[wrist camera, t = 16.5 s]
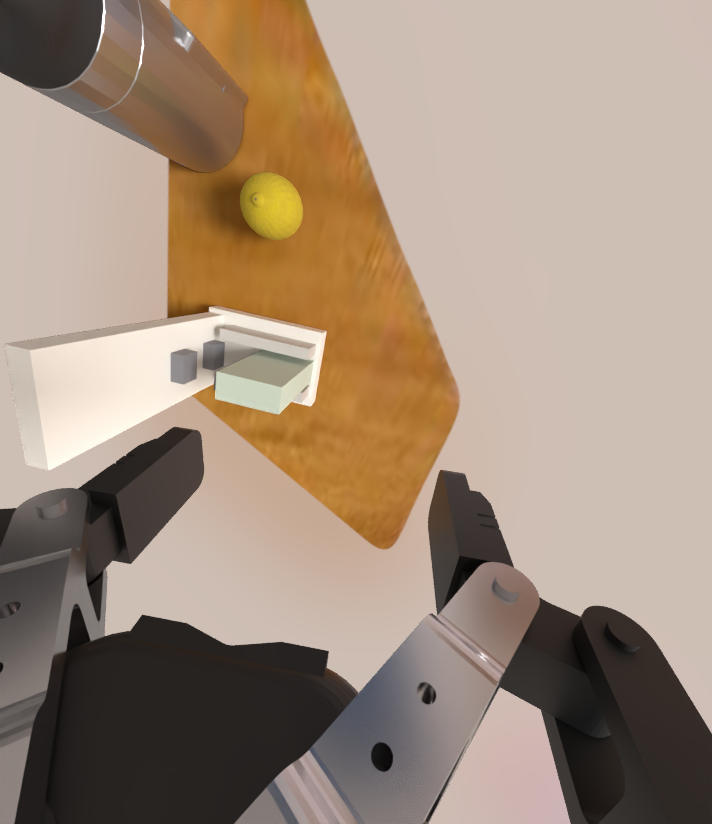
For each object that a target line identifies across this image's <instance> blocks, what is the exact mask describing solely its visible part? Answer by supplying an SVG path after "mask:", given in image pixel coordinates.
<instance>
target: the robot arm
mask: <svg viewBox="0 0 712 824" xmlns="http://www.w3.org/2000/svg"><path fill="white" fill-rule="evenodd" d="M0 72H1V73H3V74H5V75H7V76H9V77H11V78H13V79H15V80H17V81H19V82H21V83H23V84H24V85H26V86H28V87H30V88H32V89H34V90H36V91H38V92H40V93H42V94H44V95H46V96H48V97H50V98H52V99H54V100H55V101H58V102H59V103H61V104H63V105H65V106H67V107H70V108H71V109H73V110H75V111H77V112H79V113H81V114H83V115H85V116H87V117H89V118H91V119H93V120H95V121H97V122H99V123H100V124H102V125H104V126H106V127H108V128H110V129H112V130H114V131H116V132H118V133H120V134H122V135H124V136H126V137H128V138H130V139H132V140H134V141H136V142H138V143H140V144H142V145H144V146H146V147H148V148H149V149H151V150H153V151H155V152H157V153H159V154H161V155H163V156H165V157H167V158H169V159H171V160H173V161H175V162H176V163H178V164H180V165H182V166H185V167H187V168H189V169H192V170H194V171H198V172H203V173H205V172H213V171H216V170H219V169H221V168H222V167H224V166H225V165H227V164H228V163H229V162H230V161H231V159H232V158H233V157H234V155H235V154H236V152H237V150H238V148H239V145H240V142H241V139H242V133H243V109H244V106H245V104H246V102H247V100H248V97H247V95H246V94H245V93H244V92H243V91H242V89H241V88H240V87H239V86H238V85H237V84H236V83H235V81H234V80H233V79H232V78H231V77H230V76H229V75H228V73H227V72H226V71H225V70H224V69H223V68H222V67H221V65H220V64H219V63H218V62H217V61H216V60H215V59H214V57H213V56H212V55H211V54H210V53H209V52H208V51H207V49H206V48H205V47H204V46H203V45H202V44H201V43H200V41H199V40H198V39H197V38H196V37H195V36H194V35H193V33H192V32H191V31H190V30H189V29H188V28H187V27H186V26H185V25H184V24H183V23H182V22H181V21H180V20H179V19H178V18H177V17H176V16H175V15H174V14H173V13H172V12H171V11H170V10H169V9H168V8H167V7H166V6H165V5H164V4H163V3H162V2H161V1H160V0H0ZM203 475H204V463H203V451H202V440H201V434H200V432H199V431H197V430H192V429H186V428H179V427H173V428H172V429H170V430H169V431H167V432H166V433H165V434H163V435H162V436H161V437H159V438H158V439H154V440H151V441H149V442H146V443H144V444H141V445H139V446H137V447H136V448H135V449H133V450H132V451H130V452H129V453H128V454H127V455H126V456H123V457H122V458H120V459H119V460H118V461H116V464H112V465H111V466H109V467H108V468H106V469H105V470H104V471H102V472H101V473H99V474H98V475H97V476H95V477H94V478H92V479H91V480H89V481H88V482H87V483H85V484H84V485H82V486H81V487H80V488H78V489H74V488H62V489H56V490H51V491H48V492H44V493H41V494H39V495H36V496H34V497H32V498H30V499H28V500H27V501H25V502H24V503H23V504H21V505H20V506H19V507H18V508H13V509H0V824H429V822H430V820H431V818H432V816H433V814H434V813H435V810H436V809H437V807H438V805H439V803H440V801H441V799H442V797H443V795H444V793H445V792H446V790H447V788H448V786H449V783H450V782H451V780H452V778H453V776H454V774H455V772H456V770H457V768H458V766H459V764H460V762H461V760H462V758H463V756H464V754H465V752H466V750H467V748H468V747H469V745H470V743H471V741H472V739H473V737H474V735H475V733H476V731H477V729H478V728H479V726H480V724H481V722H482V720H483V718H484V716H485V714H486V712H487V710H488V709H489V707H490V705H491V702H492V701H493V699H494V697H495V695H496V693H497V691H498V689H499V688H500V687H501V688H503V689H504V690H506V691H508V692H510V693H512V694H514V695H515V696H517V697H519V698H521V699H523V700H524V701H526V702H528V703H530V704H532V705H534V706H535V707H537V708H539V709H541V712H542V716H543V719H544V723H545V727H546V730H547V735H548V738H549V742H550V746H551V750H552V754H553V757H554V761H555V765H556V769H557V773H558V776H559V780H560V784H561V788H562V792H563V796H564V799H565V803H566V807H567V811H568V815H569V819H570V822H571V824H712V734H711V732H710V730H709V729H708V727H707V725H706V724H705V722H704V720H703V719H702V717H701V716H700V714H699V712H698V711H697V709H696V707H695V706H694V704H693V702H692V701H691V699H690V697H689V696H688V695H687V693H686V691H685V689H684V688H683V686H682V684H681V683H680V681H679V679H678V678H677V676H676V675H675V673H674V671H673V670H672V668H671V666H670V665H669V663H668V661H667V660H666V658H665V657H664V655H663V653H662V652H661V650H660V649H659V647H658V645H657V644H656V642H655V641H654V640H653V638H652V637H651V636H650V635H649V634H648V633H647V632H646V631H645V630H644V629H643V628H642V627H641V626H640V625H639V624H637V623H636V622H635V621H633V620H632V619H631V618H629V617H627V616H626V615H624V614H622V613H620V612H618V611H616V610H614V609H611V608H608V607H604V606H591V607H588V608H587V609H586V610H585V611H584V612H583V614H582V616H581V617H580V616H578V615H575V614H573V613H571V612H568V611H566V610H564V609H561V608H559V607H557V606H555V605H552V604H550V603H548V602H546V601H545V600H543V599H541V598H540V597H539V594H538V591H537V590H536V588H535V586H534V585H533V583H532V582H531V581H530V580H529V579H528V578H527V577H526V576H525V575H524V574H523V573H521V572H520V571H518V570H517V569H515V568H514V566H513V563H512V561H511V558H510V555H509V552H508V550H507V547H506V544H505V541H504V539H503V536H502V533H501V531H500V530H499V525H498V523H497V520H496V519H495V515H494V512H493V509H492V506H491V504H490V503H489V502H488V501H487V499H486V498H485V497H484V496H483V495H482V494H481V493H480V492H476V491H470V489H469V486H468V483H467V479H466V476H465V474H463V473H457V472H451V471H445V470H440V472H439V475H438V478H437V482H436V486H435V490H434V494H433V498H432V502H431V506H430V511H429V517H428V531H429V540H430V550H431V559H432V569H433V579H434V588H435V599H436V608H437V616H434V615H433V614H429V615H428V616H426V617H425V618H424V619H423V620H422V621H421V623H420V624H419V625H418V626H417V627H416V628H415V629H414V631H413V632H412V633H411V634H410V635H409V636H408V637H407V639H406V640H405V641H404V642H403V643H402V644H401V645H400V647H399V648H398V649H397V650H396V651H395V652H394V653H393V655H392V656H391V657H390V658H389V659H388V660H387V661H386V663H385V664H384V665H383V666H382V667H381V668H380V670H379V671H378V672H377V673H376V674H375V675H374V676H373V677H372V679H371V680H370V681H369V682H368V683H367V684H366V686H365V687H364V688H363V689H362V690H361V691H360V692H359V693H358V692H357V691H356V689H355V688H354V687H353V686H352V685H350V684H349V683H348V682H347V681H346V680H345V679H343V678H342V677H341V676H339V675H338V674H337V673H335V672H333V671H331V670H330V669H328V668H327V659H328V652H329V651H325V650H320V649H315V648H310V647H305V646H300V645H295V644H289V643H284V642H275V643H263V644H262V643H261V644H249V645H235V646H230V645H226V644H223V643H222V642H220V641H218V640H216V639H214V638H212V637H210V636H209V635H207V634H205V633H203V632H202V631H200V630H198V629H196V628H194V627H192V626H191V625H189V624H187V623H182V622H177V621H171V620H167V619H162V618H156V617H151V616H146V615H142V616H141V617H140V619H139V620H138V621H137V623H136V624H135V626H134V627H133V628H132V630H131V631H126V632H121V633H116V634H111V635H108V636H105V612H106V594H107V571H106V567H107V566H108V565H109V564H110V563H111V561H118V562H123V563H128V564H131V563H132V562H133V561H134V560H135V559H136V558H137V556H138V555H139V554H140V553H141V552H142V551H143V550H144V548H145V547H146V546H147V545H148V544H149V543H150V542H151V541H152V539H153V538H154V537H155V536H156V535H157V534H158V533H159V532H160V530H161V529H162V528H163V527H164V526H165V525H166V523H168V521H169V520H170V519H171V518H172V517H173V516H174V515H175V514H176V512H177V511H178V510H179V509H180V508H181V507H182V506H183V505H184V503H185V502H186V501H187V500H188V499H189V498H190V497H191V495H192V494H193V493H194V492H195V491H196V490H197V489H198V487H199V486H200V484H201V482H202V479H203Z"/></svg>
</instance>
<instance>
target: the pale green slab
mask: <svg viewBox="0 0 712 824" xmlns="http://www.w3.org/2000/svg"><path fill="white" fill-rule="evenodd" d="M313 365H314V360H310V359H309V360H305V359H301V358H297V357H292V356H288V355H284V354H280V353H275V352H271V351H267V350H261V351H259V352H257V353H256V352H255V353H253V354H251V355H249V356H246V357H244V358H242V359H240V360H238V361H236V362H233V363H231V364H229V365H227V366H225V367H223V368H221V369H218V370H216V371H215V374H214V390H216V391H215V399H218V400H222V401H226V402H230V403H234V404H238V405H242V406H246V407H250V408H254V409H258V410H262V411H266V412H270V413H274V414H278V415H279V414H280V413H281V412H282V411H283V410H284V409H285V408H286V407H287V406H288V404H289V403H290V402H291V401H292V400H293V399H294V398H295V397H296V396H297V395H298V394H299V393H300V392H301V391H302V390H303V389H304V388H305V387H306V386H307V385H308V384H309V383H310V382H311V378H312V371H313Z"/></svg>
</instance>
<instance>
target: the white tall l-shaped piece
mask: <svg viewBox="0 0 712 824" xmlns="http://www.w3.org/2000/svg"><path fill="white" fill-rule="evenodd" d="M326 332H327V331H325V330H321V329H316V328H312V327H308V326H303V325H299V324H295V323H290V322H286V321H282V320H277V319H273V318H269V317H264V316H260V315H256V314H251V313H247V312H243V311H238V310H234V309H230V308H225V307H221V306H213V307H209V312H206V313H200V314H193V315H187V316H180V317H174V318H168V319H161V320H155V321H148V322H142V323H136V324H129V325H123V326H116V327H110V328H103V329H97V330H91V331H84V332H78V333H71V334H65V335H58V336H52V337H46V338H39V339H33V340H27V341H20V342H13V343H7V344H4V347H5V353H6V358H7V363H8V369H9V375H10V379H11V385H12V391H13V396H14V401H15V406H16V413H17V418H18V423H19V429H20V434H21V440H22V445H23V451H24V456H25V461H26V465H29V466H33V467H37V468H41V469H44V470H48V471H49V470H51V469H53V468H55V467H57V466H58V465H60V464H62V463H64V462H66V461H68V460H70V459H72V458H74V457H76V456H77V455H79V454H81V453H83V452H85V451H87V450H89V449H91V448H93V447H94V446H96V445H98V444H100V443H102V442H104V441H106V440H108V439H110V438H112V437H114V436H115V435H117V434H119V433H121V432H123V431H125V430H127V429H129V428H131V427H132V426H134V425H136V424H138V423H140V422H142V421H144V420H146V419H148V418H150V417H151V416H153V415H155V414H157V413H159V412H161V411H163V410H164V409H167V408H168V407H170V406H172V405H174V404H176V403H178V402H180V401H182V400H184V399H186V398H188V397H189V396H191V395H193V394H195V393H197V392H199V391H201V390H203V389H205V388H207V387H208V386H210V385H212V384H214V374H215V371H216V370H218V369H221V368H223V367H225V366H227V365H229V364H231V363H233V362H236V361H238V360H240V359H242V358H244V357H246V356H249V355H251V354H253V353H255V352H256V353H257V352H259V351H261V350H267V351H271V352H275V353H280V354H284V355H288V356H292V357H297V358H301V359H305V360H309V359H310V360H314V365H313V371H312V378H311V382H310V383H309V384H308V385H307V386H306V387H305V388H304V389H303V390H302V391H301V392H300V393H299V394H298V395H297V396H296V397H295V398H294V399H293V400H292V401H291V402H295V403H299V404H303V405H307V406H311V405H312V404H313V403H314V402H315V397H316V391H317V385H318V379H319V373H320V367H321V361H322V355H323V349H324V343H325V337H326Z"/></svg>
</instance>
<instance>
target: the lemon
mask: <svg viewBox="0 0 712 824" xmlns="http://www.w3.org/2000/svg"><path fill="white" fill-rule="evenodd" d="M240 206H241V211H242V214H243V216H244V219H245V220H246V222H247V223H248V225H249V226H250V227H251V228H252V229H253V230H254V231H255V232H256V233H257V234H259V235H261V236H262V237H264V238H267V239H271V240H283V239H286V238H289V237H290V236H291V235H293V234H294V233H295V232H296V231H297V229H298V228H299V226H300V224H301V221H302V217H303V206H302V202H301V198H300V196H299V194H298V192H297V190H296V189H295V187H294V186H293V185H292V184H291V183H290V182H289V181H288V180H287V179H285V178H284V177H282V176H280V175H277V174H275V173H269V172H263V173H258V174H255V175H253V176H252V177H250V178H249V179H248V180H247V181H246V182H245V184H244V186H243V188H242V190H241V194H240Z"/></svg>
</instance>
